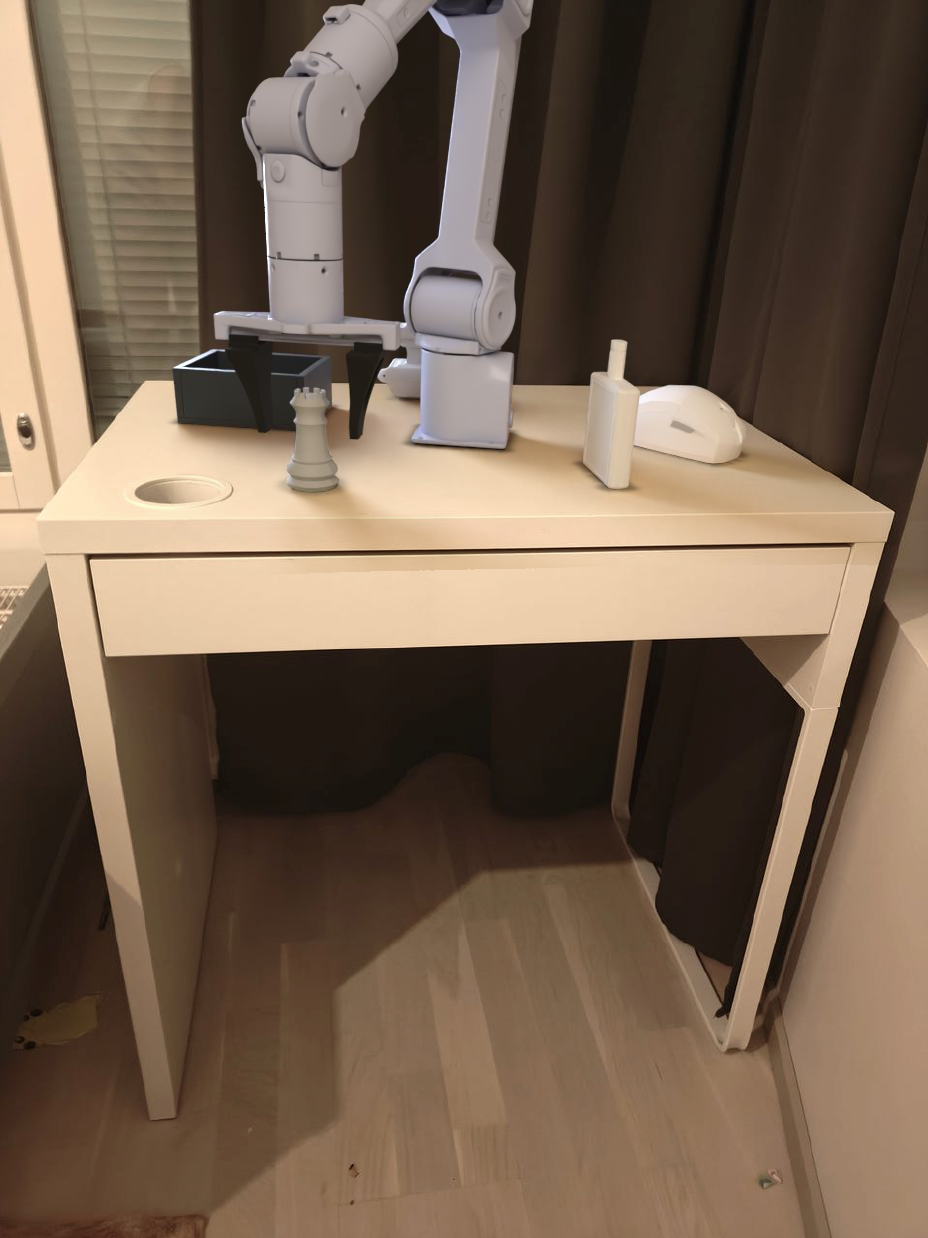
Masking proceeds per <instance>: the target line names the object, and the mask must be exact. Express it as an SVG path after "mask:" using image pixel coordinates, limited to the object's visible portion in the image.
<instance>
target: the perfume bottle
mask: <svg viewBox="0 0 928 1238" xmlns="http://www.w3.org/2000/svg"><path fill="white" fill-rule="evenodd" d="M627 350H628V341H626V340H624V339H611V340H610V350H609V353H608V354H609V355H608V364H607V371H593V372H591V374H590V382H589V390H588V391H589V393H588V401H587V402H588V403H587V412H586V421H585V432H584V442H583V452H582V464H583V465H584V466H585V467H586V468H587V469H588V470H589V471H590V472H591V473H592V474H594V475H595V476H596V477H597V478H598V480H599V481H601V482H602V483H603V484H604V485H605V486H606V487H607V488H608V489H612V490H622V489H623V490H624V489H627V488H628V487H629V485H630V478H631V470H632V463H633V462H632V461H633V453H634V446H635V445H634V438H635V430H636V422H637V414H638V406H639V398H640V395H641V392H640V390H639V388H637V386H634V385H633V384H632V383H630V382H629V381H628V380H626V379H625V378H624V374H625V366H626V357H627Z"/></svg>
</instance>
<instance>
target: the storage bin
mask: <svg viewBox="0 0 928 1238" xmlns="http://www.w3.org/2000/svg"><path fill="white" fill-rule="evenodd" d="M171 369H172V379H173V390H174V399H175V401H174V402H175V409H176V410H175V411H176V417H177V418H176V420H177V423H178V424H190V425H204V426H205V425H207V426H221V427H235V428H248V429H257V425H256V421H255V418H254V414H253V411H252V408H251V405H250V402H249V399H248V397H247V394H246V392H245V390H244V388H243V385H242V383H241V381H240V379H239V377H238V376H237V374H236V372H235V370H234V369H233V367H232V365H231V364H230V362H229V361H228V359H227V357H226V354H225V349H219V348H218V349H215V348H212V349H210V350H208V351H206V352H204V353H202V354H199V355H197V356H195V357H193V358H191V359H189V360H187V361H185V362H182V363H180V364H178V365H176V366H173V367H172V368H171ZM332 381H333V380H332V357H331V356H328V355H313V354H312V355H311V354H295V353H283V352H282V353H281V352H272V366H271V392H272V403H273V428H272V429H271V430H277V431H292V432H296V424H295V423H294V419H295V418H296V411H295V409H294V408H293V407H292V405H291V404H290V402H291V400H292V399H293V397H294V391H295V389H301V393H303V388H306V387H309V393H314V388H320V390H322V389H324V390H325V396H326V398H327V399H328V400H329V401H330V404H329V406H328V407H327V409H326V410H325V414H326V413H327V412H328V411H329V410H330V409H331V408H332V407H333V383H332ZM320 392H321V391H320Z"/></svg>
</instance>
